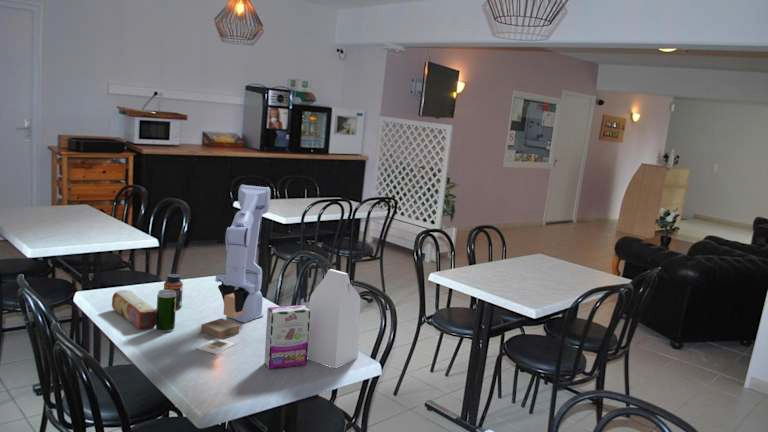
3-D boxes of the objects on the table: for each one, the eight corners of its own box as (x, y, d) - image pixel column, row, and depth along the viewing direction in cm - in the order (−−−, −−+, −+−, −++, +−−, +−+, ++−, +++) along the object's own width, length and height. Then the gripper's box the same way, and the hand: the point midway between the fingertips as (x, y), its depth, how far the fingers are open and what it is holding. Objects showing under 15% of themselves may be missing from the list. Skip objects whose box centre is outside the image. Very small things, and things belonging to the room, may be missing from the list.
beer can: (158, 333, 182) (159, 295, 180) (154, 327, 186) (155, 289, 184) (176, 331, 185) (178, 293, 183) (172, 325, 189) (173, 288, 187)
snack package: (158, 328, 187) (159, 307, 185) (137, 332, 182) (138, 310, 181) (131, 307, 201) (131, 287, 200) (110, 310, 197) (111, 290, 196)
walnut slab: (220, 327, 193) (221, 318, 192) (238, 334, 189) (239, 325, 188) (201, 333, 186) (201, 324, 186) (219, 341, 182) (219, 331, 181)
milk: (301, 356, 176) (309, 270, 172) (325, 345, 186) (333, 263, 181) (335, 369, 170) (343, 280, 166) (358, 357, 180) (366, 272, 175)
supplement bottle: (185, 308, 205) (187, 275, 203) (170, 312, 200) (172, 279, 198) (173, 303, 208) (175, 271, 206) (159, 307, 203) (160, 274, 201)
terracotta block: (233, 311, 186) (234, 292, 185) (242, 314, 184) (243, 295, 183) (223, 314, 183) (224, 295, 182) (232, 317, 181) (234, 298, 180)
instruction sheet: (216, 338, 182) (216, 337, 182) (235, 344, 180) (235, 343, 180) (196, 348, 174) (196, 347, 174) (216, 354, 172) (216, 353, 172)
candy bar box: (300, 358, 175) (305, 304, 172) (307, 365, 170) (311, 310, 168) (262, 362, 170) (267, 306, 167) (268, 370, 165) (272, 312, 162)
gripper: (208, 262, 181) (206, 306, 184) (244, 273, 174) (241, 318, 176) (226, 259, 187) (223, 301, 190) (261, 269, 180) (258, 313, 182)
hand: (233, 309), depth 183 cm, fingers closed on terracotta block, 4 cm apart
